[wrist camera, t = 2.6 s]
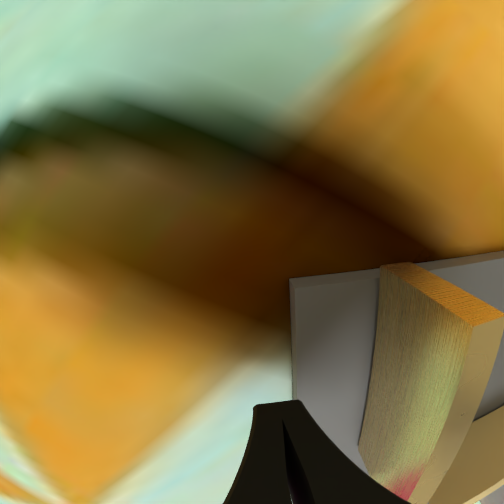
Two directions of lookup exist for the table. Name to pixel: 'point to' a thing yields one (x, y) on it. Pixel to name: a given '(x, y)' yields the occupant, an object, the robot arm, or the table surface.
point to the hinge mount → (361, 359)
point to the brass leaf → (424, 378)
